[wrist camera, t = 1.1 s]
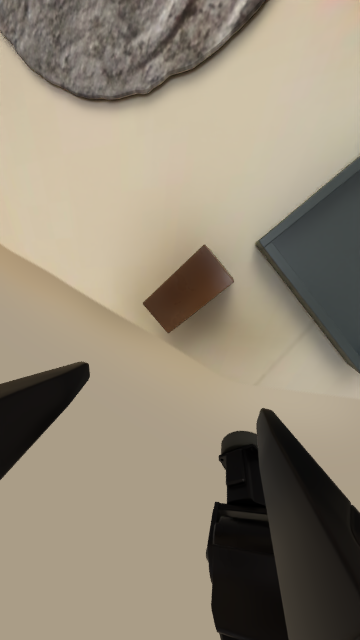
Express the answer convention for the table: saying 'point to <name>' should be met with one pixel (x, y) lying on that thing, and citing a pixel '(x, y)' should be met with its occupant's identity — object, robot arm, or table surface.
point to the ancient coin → (119, 40)
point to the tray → (324, 259)
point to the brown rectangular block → (188, 289)
